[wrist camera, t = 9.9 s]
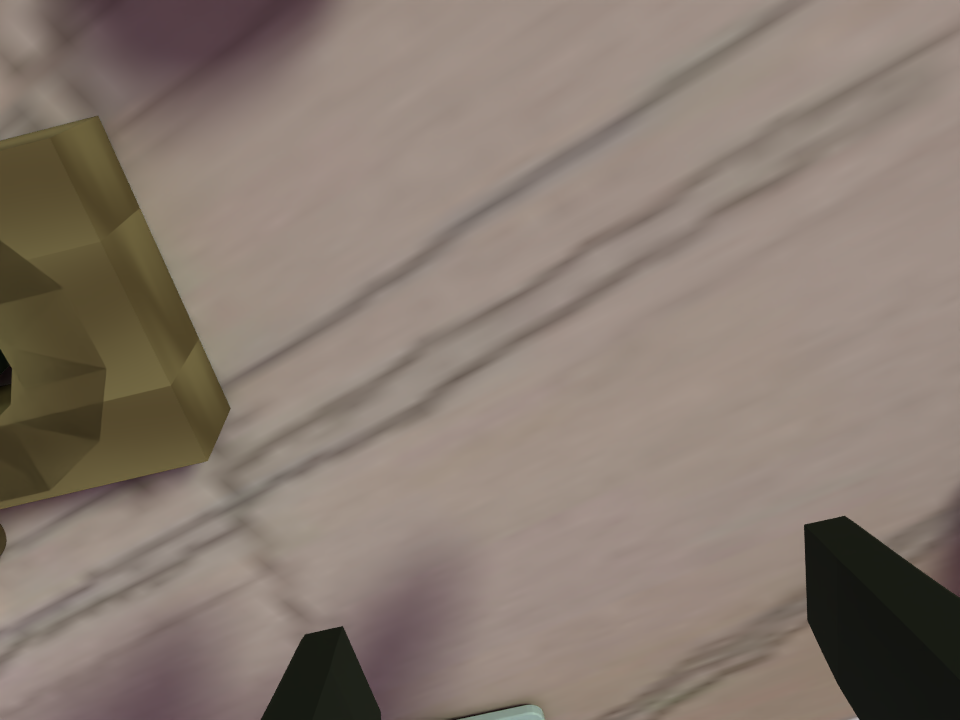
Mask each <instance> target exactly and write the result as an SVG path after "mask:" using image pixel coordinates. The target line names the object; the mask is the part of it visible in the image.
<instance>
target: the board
mask: <svg viewBox="0 0 960 720" xmlns="http://www.w3.org/2000/svg"><path fill="white" fill-rule="evenodd" d="M0 349H1V351H2V352H3V354H4V356H5V358H6V359H7V361H8V363H9V364H10V366H11V368H12V384H9V385H5V386H0V509H4V508H8V507H12V506H17V505H21V504H25V503H29V502H34V501H38V500H42V499H47V498H51V497H55V496H60V495H64V494H68V493H72V492H77V491H81V490H85V489H90V488H94V487H98V486H103V485H107V484H111V483H115V482H120V481H124V480H128V479H133V478H137V477H141V476H146V475H150V474H154V473H158V472H163V471H167V470H171V469H176V468H180V467H184V466H189V465H193V464H197V463H202V462H206V461H208V459H209V457H210V454H211V452H212V450H213V448H214V445H215V443H216V441H217V438H218V436H219V434H220V432H221V429H222V427H223V425H224V422H225V420H226V418H227V416H228V413H229V411H230V406H229V404H228V402H227V400H226V398H225V395H224V393H223V391H222V389H221V386H220V384H219V382H218V380H217V378H216V375H215V373H214V371H213V369H212V367H211V364H210V362H209V360H208V358H207V356H206V353H205V351H204V349H203V347H202V345H201V342H200V340H199V338H198V336H197V333H196V331H195V329H194V327H193V325H192V322H191V320H190V318H189V316H188V314H187V311H186V309H185V307H184V305H183V303H182V300H181V298H180V296H179V294H178V292H177V289H176V287H175V285H174V283H173V280H172V278H171V276H170V274H169V272H168V269H167V267H166V265H165V263H164V261H163V258H162V256H161V254H160V252H159V250H158V247H157V245H156V243H155V241H154V238H153V236H152V234H151V232H150V230H149V227H148V225H147V223H146V221H145V219H144V216H143V214H142V212H141V210H140V208H139V205H138V203H137V201H136V199H135V197H134V194H133V192H132V190H131V188H130V185H129V183H128V181H127V179H126V177H125V174H124V172H123V170H122V168H121V166H120V163H119V161H118V159H117V157H116V155H115V152H114V150H113V148H112V146H111V144H110V141H109V139H108V137H107V135H106V132H105V130H104V128H103V126H102V124H101V121H100V119H99V117H98V116H95V117H91V118H87V119H83V120H80V121H76V122H72V123H68V124H64V125H60V126H56V127H52V128H48V129H44V130H41V131H37V132H33V133H29V134H25V135H21V136H17V137H13V138H9V139H5V140H2V141H0Z"/></svg>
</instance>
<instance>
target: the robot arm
mask: <svg viewBox="0 0 960 720" xmlns="http://www.w3.org/2000/svg"><path fill="white" fill-rule="evenodd" d="M804 536H805V564H806V592H807V620H808V623H809V625H810V627H811V629H812V631H813V633H814V636H815V638H816V640H817V642H818V644H819V646H820V648H821V651H822V653H823V655H824V657H825V659H826V661H827V663H828V665H829V667H830V669H831V671H832V673H833V675H834V677H835V679H836V682H837V684H838V685H839V687H840V689H841V690H842V692H843V694H844V695H845V697H846V699H847V700H848V702H849V704H850V705H851V707H852V708H853V710H854V712H855V713H856V715H857V717H858V718H859V720H960V598H959V597H958V596H956V595H955V594H953V593H952V592H950V591H949V590H948V589H946V588H945V587H943V586H942V585H940V584H939V583H937V582H936V581H935V580H933V579H932V578H930V577H929V576H927V575H926V574H925V573H923V572H922V571H920V570H919V569H918V568H916V567H915V566H913V565H912V564H911V563H909V562H908V561H906V560H905V559H904V558H902V557H901V556H900V555H898V554H897V553H895V552H894V551H893V550H891V549H890V548H889V547H887V546H886V545H884V544H883V543H882V542H880V541H879V540H878V539H876V538H875V537H874V536H872V535H871V534H869V533H868V532H867V531H865V530H864V529H863V528H861V527H860V526H859V525H857V524H856V523H854V522H853V521H852V520H850V519H849V518H847V517H845V516H842V517H837V518H833V519H828V520H824V521H819V522H815V523H810V524H805V525H804ZM261 720H381V712H380V709H379V707H378V705H377V702H376V700H375V698H374V696H373V693H372V691H371V689H370V687H369V684H368V682H367V680H366V677H365V675H364V673H363V671H362V668H361V666H360V664H359V662H358V659H357V657H356V655H355V652H354V650H353V648H352V646H351V643H350V641H349V639H348V637H347V634H346V632H345V630H344V628H343V626H341V627H337V628H332V629H328V630H323V631H319V632H314V633H310V634H305V636H304V637H303V639H302V640H301V642H300V644H299V646H298V647H297V649H296V651H295V653H294V655H293V657H292V659H291V661H290V663H289V665H288V667H287V669H286V671H285V673H284V675H283V677H282V679H281V681H280V683H279V685H278V687H277V689H276V691H275V693H274V695H273V697H272V699H271V701H270V703H269V705H268V707H267V709H266V711H265V713H264V714H263V716H262V718H261ZM458 720H545V718H544V714H543V711H542V710H541V708H539V707H538V706H536V705H524V706H519V707H514V708H510V709H505V710H500V711H496V712H491V713H486V714H481V715H477V716H472V717H467V718H463V719H458Z"/></svg>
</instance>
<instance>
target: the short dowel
mask: <svg viewBox="0 0 960 720" xmlns="http://www.w3.org/2000/svg"><path fill="white" fill-rule="evenodd" d="M5 546H6V534H5V531H4V529H3V527H2V526H1V524H0V555H1V554H2V553H3V551H4V549H5Z"/></svg>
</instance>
